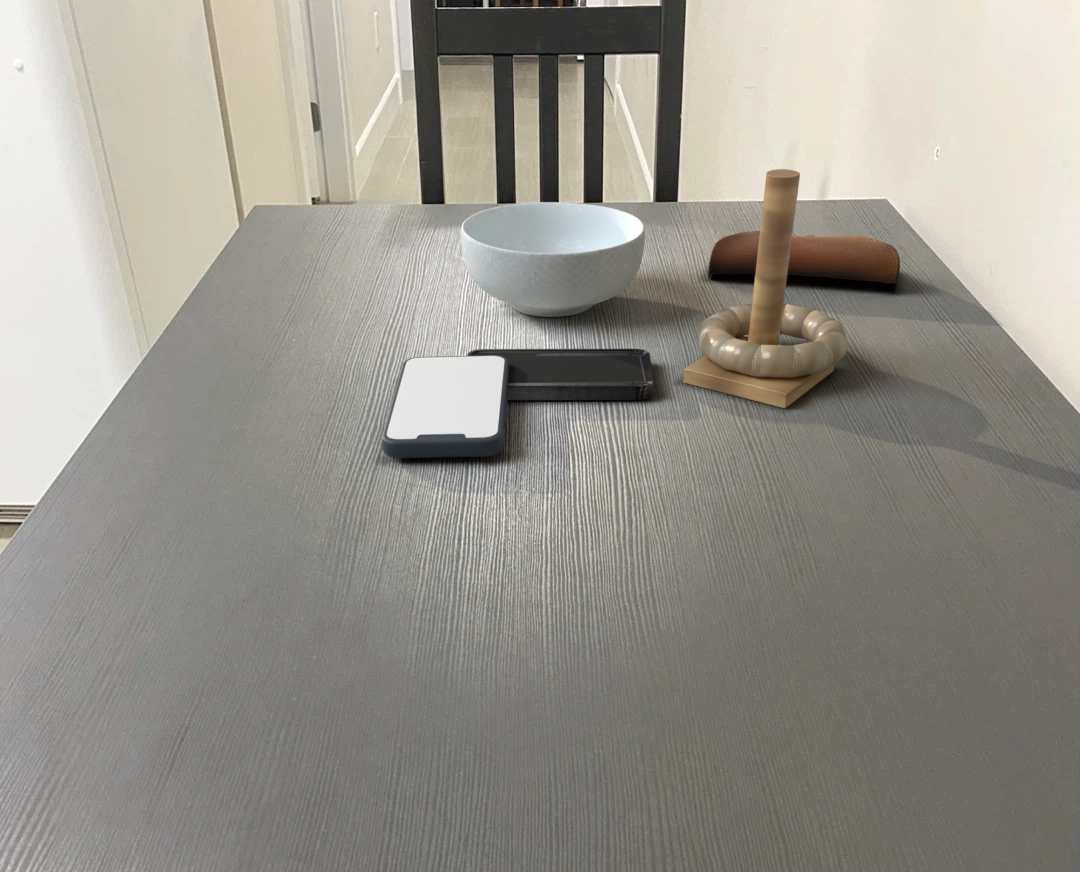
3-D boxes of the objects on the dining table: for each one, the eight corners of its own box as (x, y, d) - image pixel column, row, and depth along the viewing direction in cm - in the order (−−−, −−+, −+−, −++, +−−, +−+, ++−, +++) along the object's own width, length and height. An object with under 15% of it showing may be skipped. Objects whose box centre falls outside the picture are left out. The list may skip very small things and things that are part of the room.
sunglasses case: (897, 262, 109) (909, 209, 103) (890, 319, 107) (901, 269, 100) (717, 251, 112) (718, 200, 106) (706, 306, 110) (707, 257, 104)
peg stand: (833, 371, 89) (867, 168, 80) (785, 409, 84) (814, 196, 74) (735, 348, 93) (755, 152, 84) (683, 382, 88) (698, 177, 78)
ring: (867, 346, 90) (873, 317, 88) (804, 394, 83) (809, 363, 81) (740, 318, 95) (743, 290, 94) (671, 361, 88) (673, 331, 87)
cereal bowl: (633, 340, 95) (636, 255, 90) (447, 331, 97) (441, 249, 93) (648, 277, 108) (652, 200, 103) (484, 271, 110) (481, 196, 106)
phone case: (404, 375, 90) (380, 463, 77) (402, 355, 89) (377, 442, 76) (511, 372, 89) (504, 461, 77) (510, 353, 88) (503, 439, 76)
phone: (654, 386, 84) (460, 386, 85) (653, 400, 85) (461, 400, 85) (648, 348, 90) (468, 348, 91) (648, 361, 91) (469, 361, 91)
